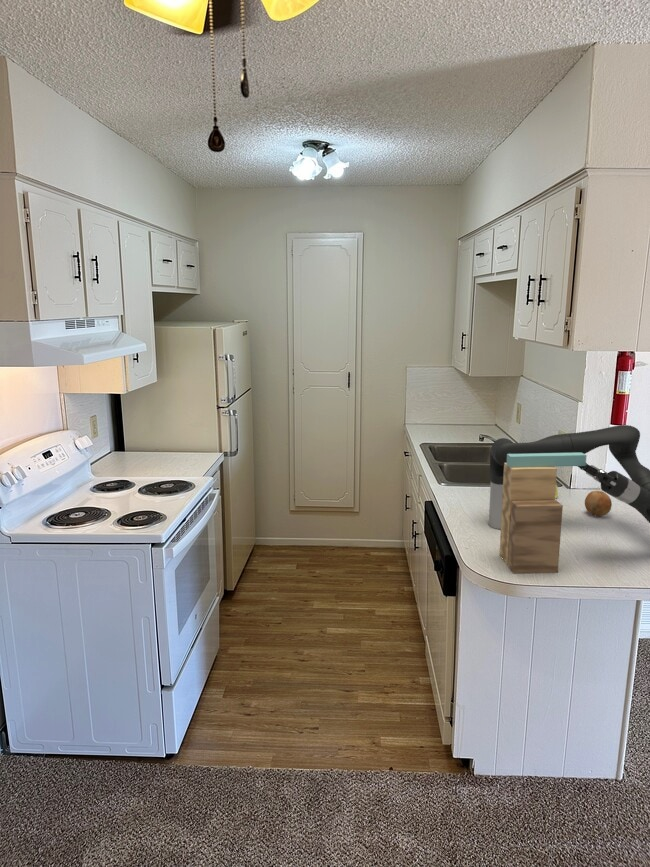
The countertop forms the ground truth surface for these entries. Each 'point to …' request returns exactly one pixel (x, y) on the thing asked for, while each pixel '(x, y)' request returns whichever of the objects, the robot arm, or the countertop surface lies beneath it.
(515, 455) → the rail
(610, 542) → the countertop surface
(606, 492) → the robot arm
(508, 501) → the stand
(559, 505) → the step
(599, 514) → the onion
